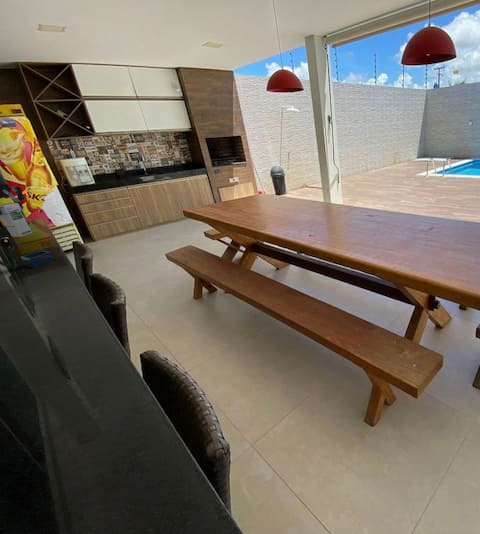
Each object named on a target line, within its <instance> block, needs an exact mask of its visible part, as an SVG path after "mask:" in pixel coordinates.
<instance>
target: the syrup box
mask: <svg viewBox="0 0 480 534" xmlns="http://www.w3.org/2000/svg"><path fill="white" fill-rule="evenodd" d="M0 212H1V213H2V215H0V219H1V221H2V223H3V224H4V227H5V228H6V230H7V231H8V232H9V235H10V236H11V237H12V238H13V237H14V238H22V237H24V236H29V235H32V234H34V233H35V230H34V228H33V227H32V225H31V222H30V221H29V219H28V217H27V216H26V214H25V212H24V210H22V209H21V207H20V205H19V204H18V203H14V202H7V203H4V204H0Z"/></svg>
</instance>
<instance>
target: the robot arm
mask: <svg viewBox="0 0 480 534" xmlns="http://www.w3.org/2000/svg"><path fill="white" fill-rule="evenodd" d="M12 191H13V192H15V194H16V196H17V197H16V196H15V195H14V194H12ZM6 198H8V199H10V200H12V201H13V203H18V204H19V205H20V207H21V209H22V211H24V206H23V203H22V201H24V200H25V196H24V194H23V192H22V189H21V187H20V186H17V185H13V186H10V185H9V184H8V182H7V180H6V178H5V177H4V175H3V173H2V171H1V170H0V200H1V199H6ZM0 215H2V213H1V212H0Z"/></svg>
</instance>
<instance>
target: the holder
mask: <svg viewBox="0 0 480 534" xmlns="http://www.w3.org/2000/svg"><path fill="white" fill-rule="evenodd" d="M20 258H21V260H22V262H23V263H24V265H25V267H29V268H33V269H35V268H38V267H41V266H44V265H47V264H49V263H52V262H55V258H54V256H53V254H52V253H51V251H47V250H39V251H36V252H32V253H28V254H26V255H25V254H24V255H22V256H20Z"/></svg>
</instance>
